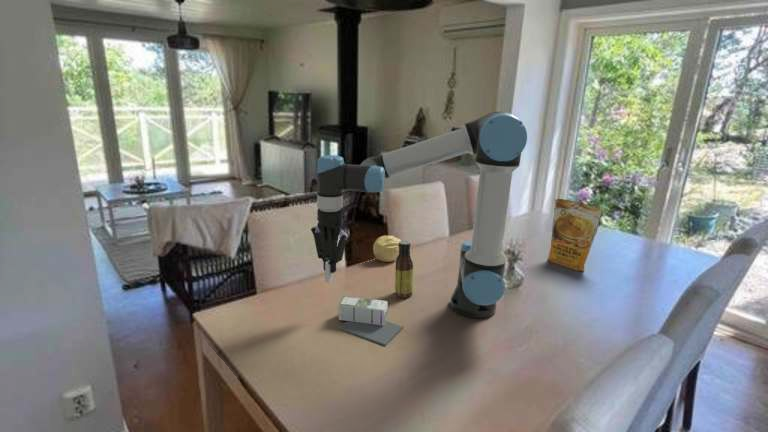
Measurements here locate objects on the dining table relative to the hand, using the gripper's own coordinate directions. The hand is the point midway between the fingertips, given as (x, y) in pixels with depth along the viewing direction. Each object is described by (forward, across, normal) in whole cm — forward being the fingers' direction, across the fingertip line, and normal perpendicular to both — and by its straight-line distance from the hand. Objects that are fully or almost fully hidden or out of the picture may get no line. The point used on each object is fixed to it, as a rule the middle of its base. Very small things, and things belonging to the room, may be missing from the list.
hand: (329, 280), depth 127 cm
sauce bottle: (+12, -14, -25) cm, 31 cm away
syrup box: (+8, -4, 0) cm, 9 cm away
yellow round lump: (+12, +7, -50) cm, 52 cm away
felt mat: (+12, -16, 0) cm, 20 cm away
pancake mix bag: (+11, -61, -89) cm, 109 cm away
